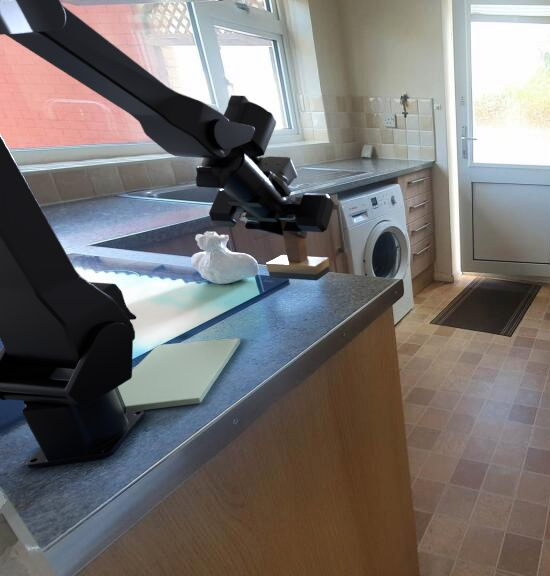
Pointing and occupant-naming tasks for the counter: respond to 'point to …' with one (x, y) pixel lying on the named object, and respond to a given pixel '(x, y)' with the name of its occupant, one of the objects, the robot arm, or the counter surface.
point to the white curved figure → (221, 260)
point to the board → (176, 374)
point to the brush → (297, 261)
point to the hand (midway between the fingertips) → (298, 235)
